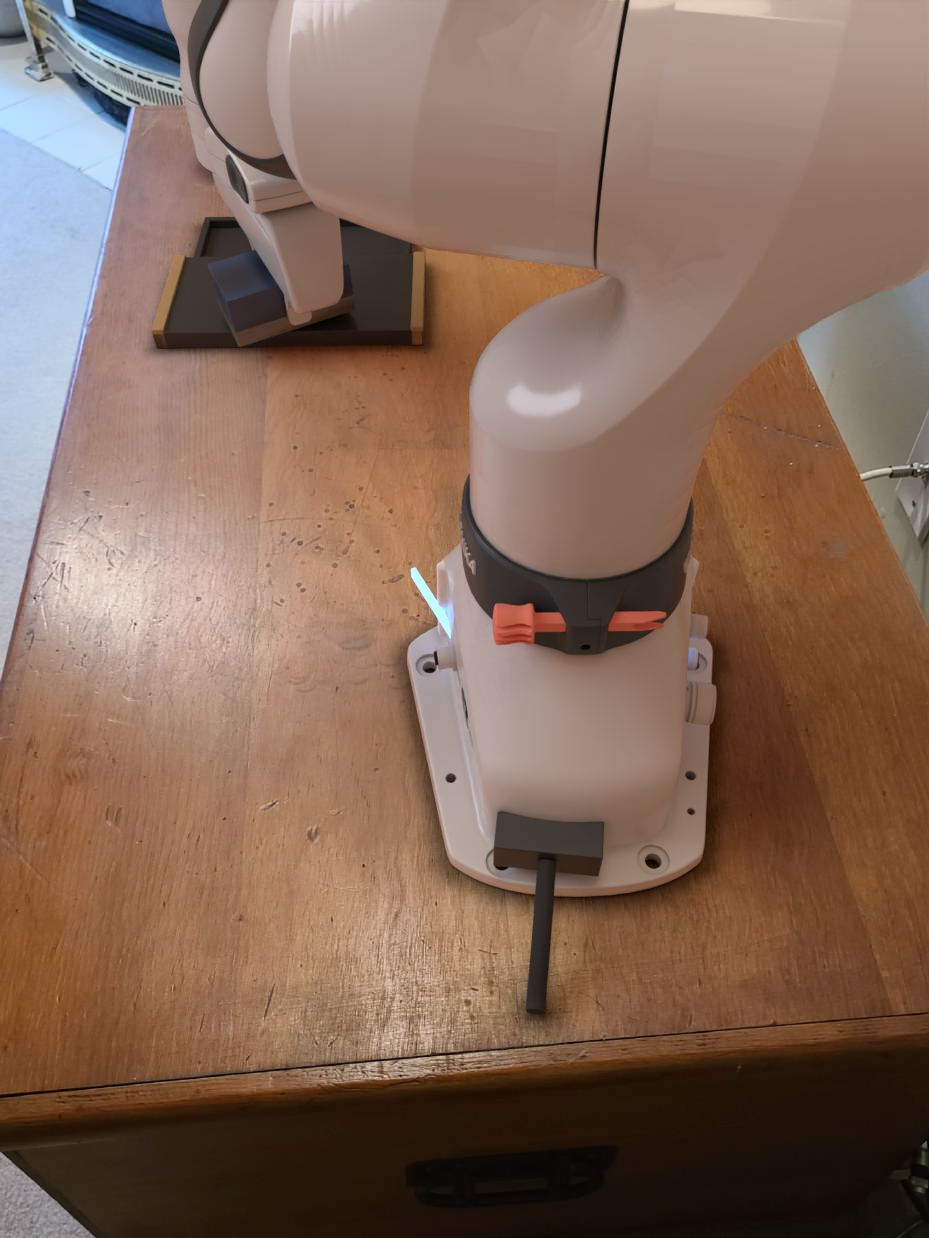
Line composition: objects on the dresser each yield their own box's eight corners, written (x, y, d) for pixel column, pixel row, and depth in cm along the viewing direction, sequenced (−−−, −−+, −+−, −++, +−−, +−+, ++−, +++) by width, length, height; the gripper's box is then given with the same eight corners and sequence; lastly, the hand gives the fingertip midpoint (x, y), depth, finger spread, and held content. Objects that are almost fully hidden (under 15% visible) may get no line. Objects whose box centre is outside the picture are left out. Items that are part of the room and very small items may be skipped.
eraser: (355, 310, 81) (349, 263, 77) (239, 347, 78) (226, 302, 75) (333, 274, 83) (326, 228, 79) (220, 310, 81) (207, 263, 77)
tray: (409, 269, 88) (409, 258, 87) (195, 271, 88) (192, 260, 87) (412, 225, 92) (411, 214, 92) (207, 227, 92) (204, 216, 92)
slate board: (423, 345, 81) (422, 326, 80) (156, 348, 81) (150, 330, 80) (425, 269, 88) (424, 251, 86) (179, 272, 88) (174, 254, 86)
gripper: (170, 74, 74) (209, 243, 85) (258, 204, 62) (290, 380, 73) (250, 57, 75) (279, 225, 86) (351, 181, 64) (369, 356, 75)
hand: (285, 297), depth 80 cm, fingers closed on eraser, 5 cm apart
